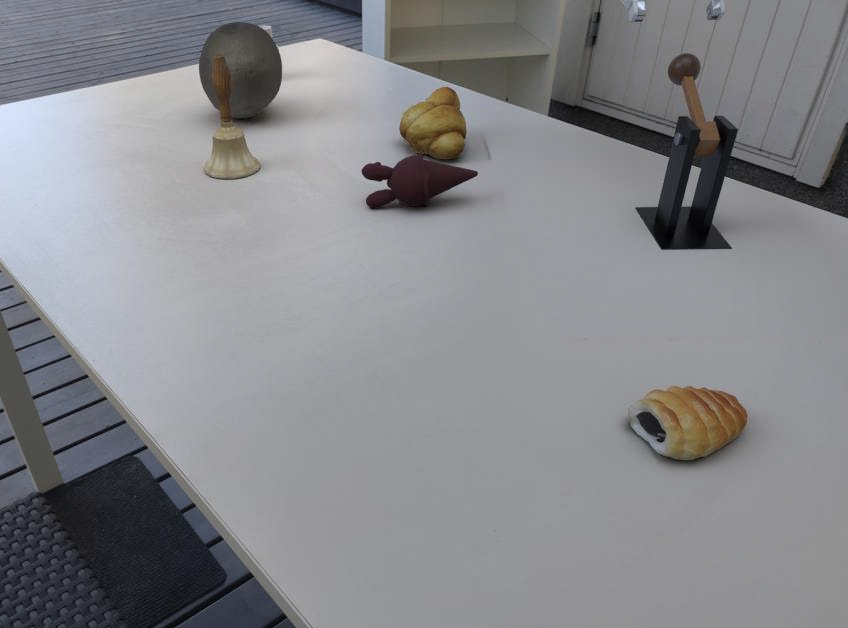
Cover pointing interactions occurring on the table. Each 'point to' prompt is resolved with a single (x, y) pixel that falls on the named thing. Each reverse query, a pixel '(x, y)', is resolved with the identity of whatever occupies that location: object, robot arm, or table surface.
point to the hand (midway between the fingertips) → (676, 18)
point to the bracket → (695, 222)
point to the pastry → (687, 421)
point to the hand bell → (228, 133)
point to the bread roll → (435, 125)
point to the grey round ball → (243, 67)
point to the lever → (694, 100)
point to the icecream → (413, 180)
